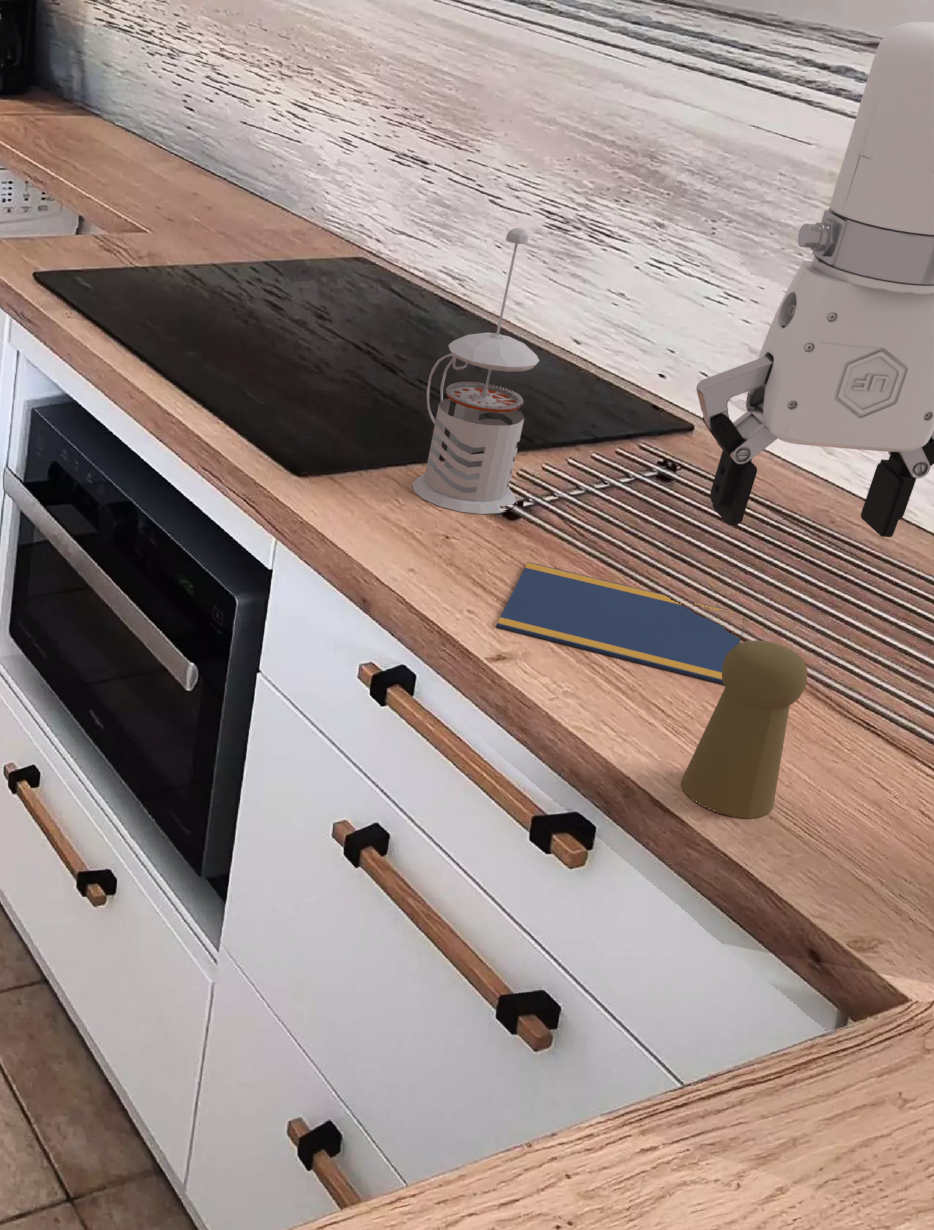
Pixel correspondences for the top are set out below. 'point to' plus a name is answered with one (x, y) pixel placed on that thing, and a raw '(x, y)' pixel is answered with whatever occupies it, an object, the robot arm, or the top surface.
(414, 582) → the top surface
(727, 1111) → the top surface
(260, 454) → the top surface
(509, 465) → the french press
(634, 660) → the cloth
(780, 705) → the cork
